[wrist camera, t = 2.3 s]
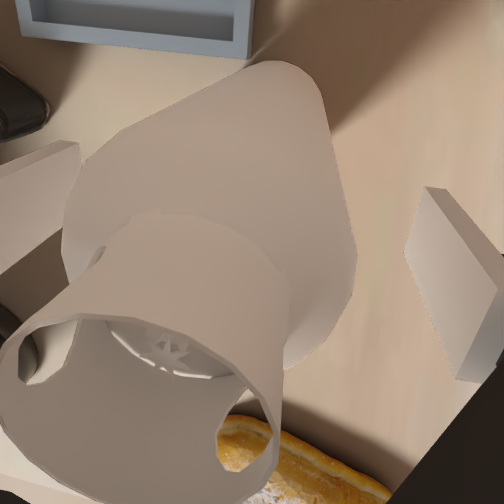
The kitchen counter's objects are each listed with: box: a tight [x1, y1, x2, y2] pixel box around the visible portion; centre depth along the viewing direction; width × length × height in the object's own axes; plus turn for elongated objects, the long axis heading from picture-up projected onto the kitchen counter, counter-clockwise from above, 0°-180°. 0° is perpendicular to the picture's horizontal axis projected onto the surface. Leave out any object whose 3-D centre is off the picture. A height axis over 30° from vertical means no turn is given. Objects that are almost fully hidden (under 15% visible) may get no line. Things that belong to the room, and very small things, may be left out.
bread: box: [217, 414, 392, 504], centre depth 48 cm, size 13×26×8 cm, turn 62°
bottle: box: [0, 61, 357, 504], centre depth 19 cm, size 8×8×28 cm
